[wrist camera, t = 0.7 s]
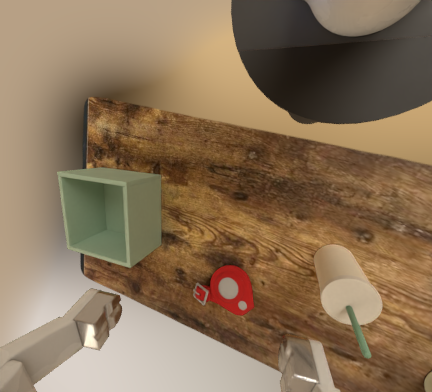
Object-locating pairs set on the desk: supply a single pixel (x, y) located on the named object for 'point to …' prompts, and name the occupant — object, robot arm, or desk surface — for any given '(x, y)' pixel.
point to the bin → (111, 213)
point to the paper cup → (346, 290)
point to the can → (428, 382)
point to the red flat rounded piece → (228, 290)
